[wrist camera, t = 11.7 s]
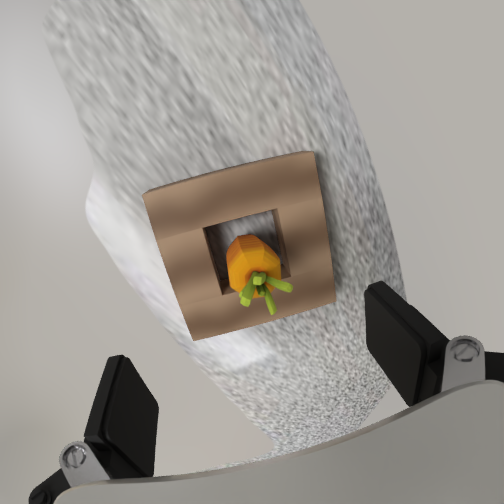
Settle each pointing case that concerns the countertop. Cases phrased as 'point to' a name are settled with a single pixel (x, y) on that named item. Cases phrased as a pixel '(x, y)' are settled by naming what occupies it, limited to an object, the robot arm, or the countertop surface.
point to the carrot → (254, 270)
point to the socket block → (232, 207)
